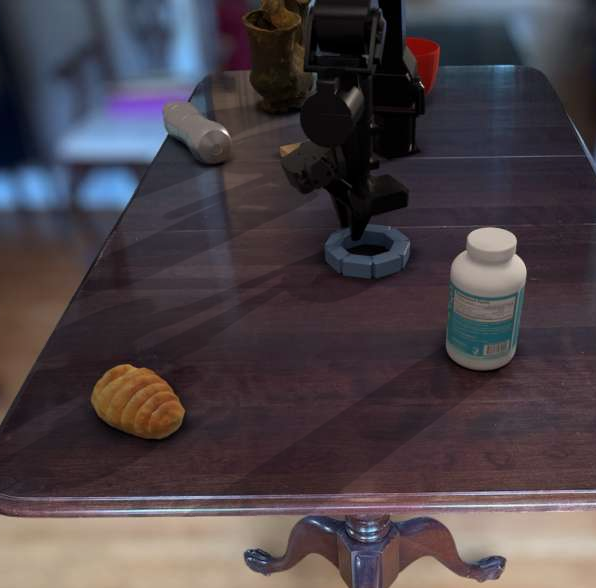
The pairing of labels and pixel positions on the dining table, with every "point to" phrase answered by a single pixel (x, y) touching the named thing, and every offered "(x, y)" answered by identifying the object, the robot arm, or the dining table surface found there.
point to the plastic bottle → (196, 132)
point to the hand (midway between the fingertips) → (351, 236)
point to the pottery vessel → (279, 53)
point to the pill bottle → (485, 300)
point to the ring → (367, 264)
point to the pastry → (137, 402)
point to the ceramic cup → (425, 60)
